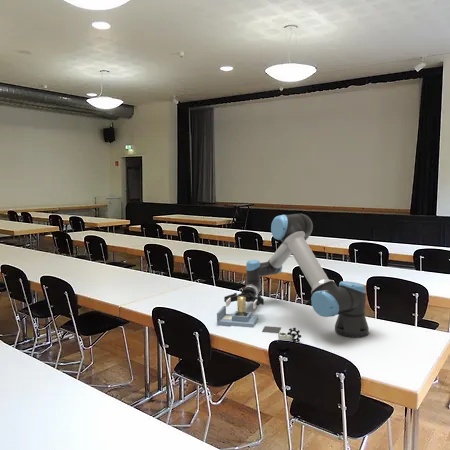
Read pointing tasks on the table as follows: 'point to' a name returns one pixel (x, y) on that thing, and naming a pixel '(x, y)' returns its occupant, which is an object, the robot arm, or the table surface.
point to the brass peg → (241, 305)
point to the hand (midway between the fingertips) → (240, 305)
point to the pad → (271, 329)
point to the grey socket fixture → (235, 319)
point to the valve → (290, 335)
